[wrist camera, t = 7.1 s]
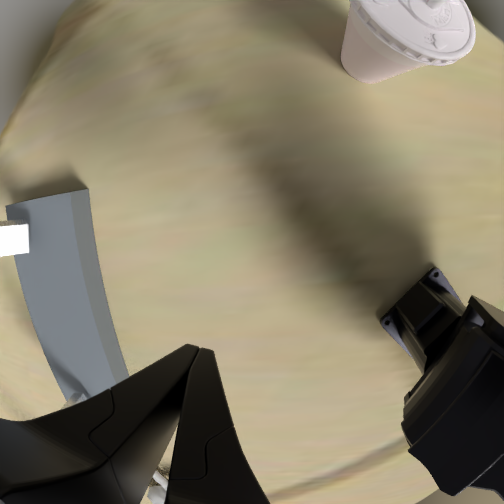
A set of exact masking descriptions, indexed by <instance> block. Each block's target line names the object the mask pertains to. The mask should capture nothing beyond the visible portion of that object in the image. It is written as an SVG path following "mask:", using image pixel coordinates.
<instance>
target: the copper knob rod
mask: <svg viewBox="0 0 504 504" xmlns="http://www.w3.org/2000/svg"><path fill="white" fill-rule="evenodd" d="M22 253H29V232H28V222H27V219H20V220H9V221H0V256H6V255H14V254H22Z"/></svg>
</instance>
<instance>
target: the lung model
mask: <svg viewBox="0 0 504 504" xmlns="http://www.w3.org/2000/svg"><path fill="white" fill-rule="evenodd" d="M153 479H154V480H155V481H156V482H158V483H159V484H160V485H161V486H153V487H149V492H148V496H147V497H148V498H149V499H150V500H151V502H152V503H153V504H164V501H165V497H166V491H167V486H168V480H166V478H164V477H163V476H162V475H161V474H160V473H159V472H158V471H157V470H156V471H155V473H154V475H153Z"/></svg>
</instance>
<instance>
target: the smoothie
mask: <svg viewBox="0 0 504 504" xmlns="http://www.w3.org/2000/svg"><path fill="white" fill-rule="evenodd" d="M349 1H350V9H349V14H348V20H347V25H346V30H345V35H344V40H343V45H342V50H341V62H342V65H343V67H344V68H345V70H346V71H347V72H348V73H349V74H350V75H351V76H352V77H353V78H355V79H356V80H358V81H361V82H364V83H377V82H380V81H383V80H385V79H388V78H391V77H393V76H396V75H399V74H402V73H404V72H407V71H410V70H413V69H416V68H419V67H422V66H426V65H437V66H444V65H448V64H452V63H455V62H456V61H457V60H459V59H460V58H462V57H464V56H465V55H467V54H468V53H469V52H470V51H471V49H472V47H473V45H474V42H475V35H476V33H475V25H474V21H473V18H472V15H471V13H470V11H469V8H468V7H467V5H466V3H465V2H464V0H349Z"/></svg>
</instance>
